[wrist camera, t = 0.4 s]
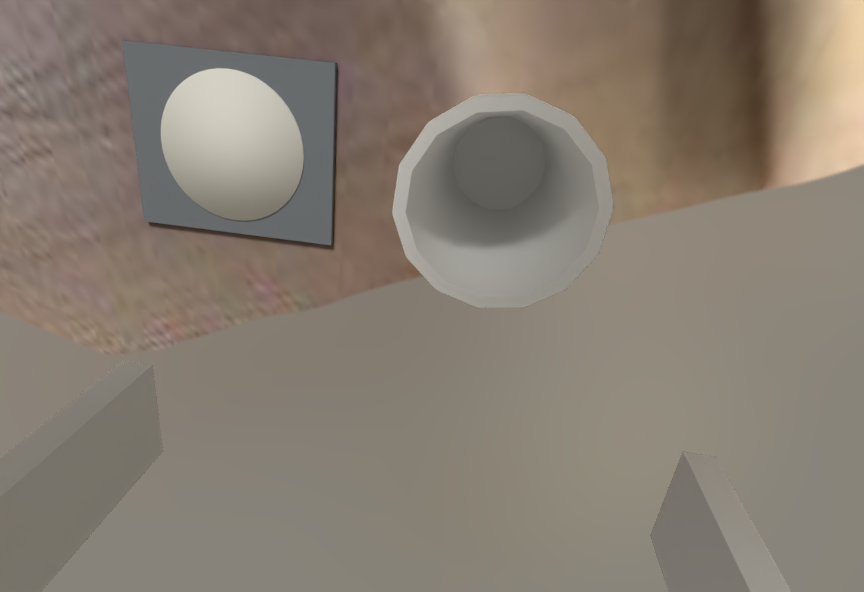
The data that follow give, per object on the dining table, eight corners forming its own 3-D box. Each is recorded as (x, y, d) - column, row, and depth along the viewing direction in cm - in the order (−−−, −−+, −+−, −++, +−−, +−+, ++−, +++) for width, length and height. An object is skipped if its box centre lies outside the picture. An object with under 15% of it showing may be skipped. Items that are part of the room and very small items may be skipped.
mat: (126, 40, 34) (121, 40, 34) (336, 63, 34) (334, 62, 33) (147, 219, 39) (143, 221, 39) (332, 243, 38) (330, 245, 38)
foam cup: (508, 258, 37) (514, 345, 25) (401, 179, 36) (353, 231, 24) (603, 146, 34) (661, 185, 22) (487, 53, 32) (482, 42, 20)
